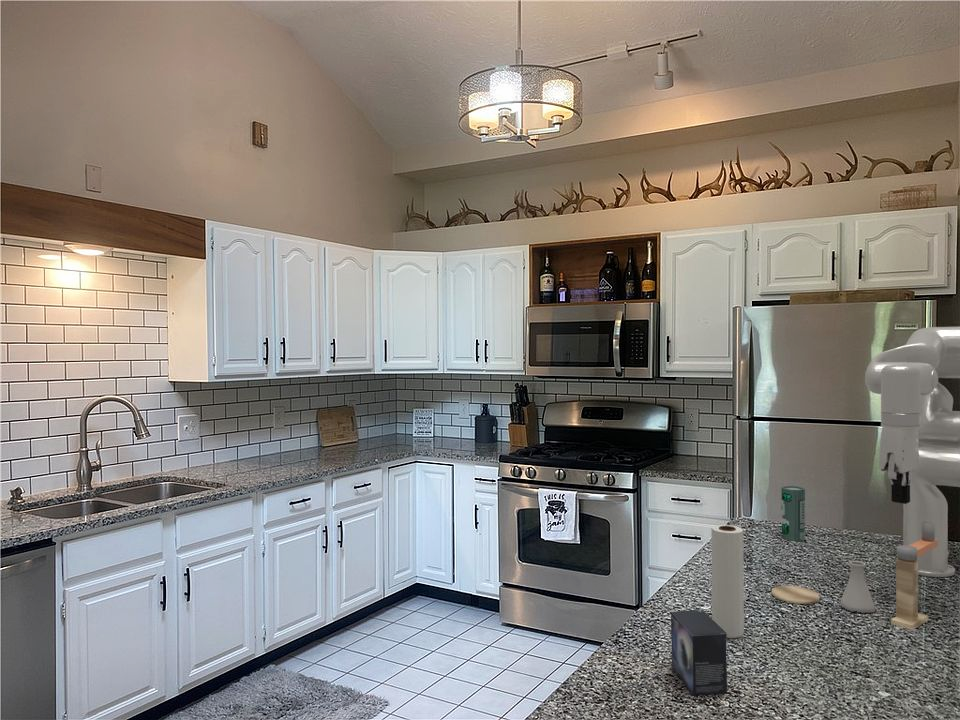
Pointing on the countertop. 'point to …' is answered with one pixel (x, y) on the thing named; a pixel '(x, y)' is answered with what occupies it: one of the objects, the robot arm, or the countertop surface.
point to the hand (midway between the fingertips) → (900, 502)
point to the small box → (699, 652)
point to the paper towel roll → (728, 579)
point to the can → (793, 513)
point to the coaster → (795, 594)
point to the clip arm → (919, 544)
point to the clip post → (907, 596)
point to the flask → (857, 591)
